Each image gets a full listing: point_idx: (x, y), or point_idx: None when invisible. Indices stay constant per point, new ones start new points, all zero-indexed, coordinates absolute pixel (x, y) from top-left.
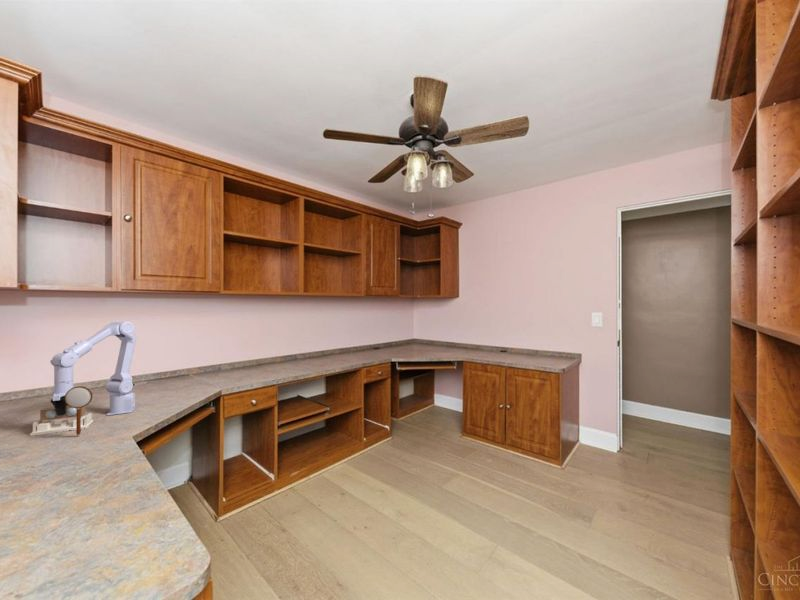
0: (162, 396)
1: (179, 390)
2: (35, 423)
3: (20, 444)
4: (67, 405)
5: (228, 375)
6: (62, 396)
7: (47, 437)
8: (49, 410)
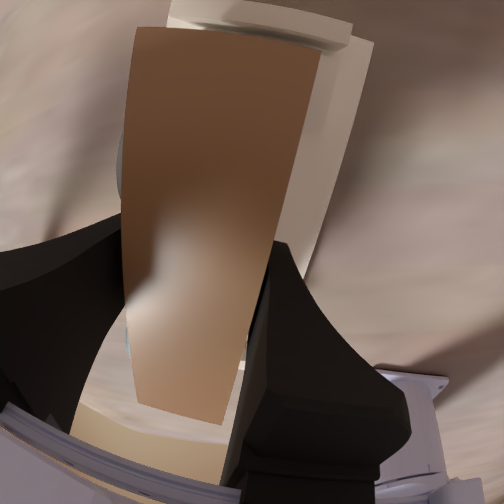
0: (471, 453)
1: (486, 465)
2: (171, 16)
3: (36, 35)
4: (253, 335)
5: (495, 491)
6: (13, 431)
7: (79, 129)
8: (122, 149)
